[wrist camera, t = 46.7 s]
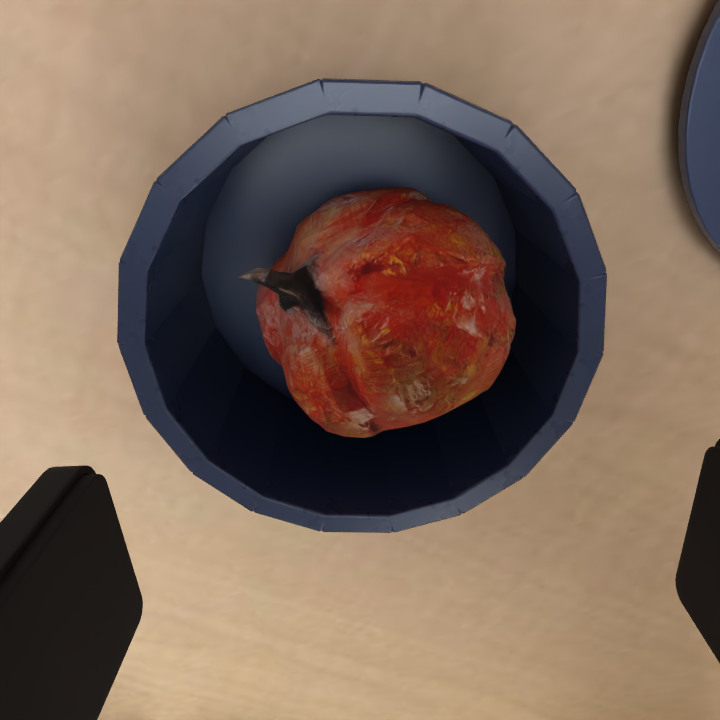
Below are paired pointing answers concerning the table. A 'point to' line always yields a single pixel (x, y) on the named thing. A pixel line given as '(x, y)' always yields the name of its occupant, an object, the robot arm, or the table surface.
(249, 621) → the table surface
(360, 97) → the bowl
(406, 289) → the pomegranate
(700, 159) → the lid
